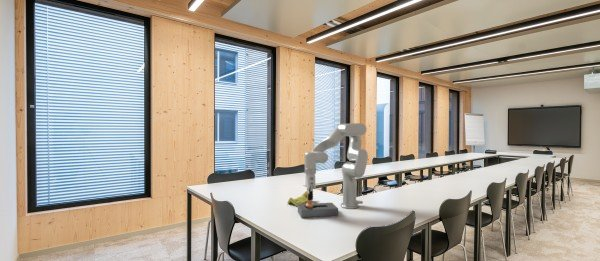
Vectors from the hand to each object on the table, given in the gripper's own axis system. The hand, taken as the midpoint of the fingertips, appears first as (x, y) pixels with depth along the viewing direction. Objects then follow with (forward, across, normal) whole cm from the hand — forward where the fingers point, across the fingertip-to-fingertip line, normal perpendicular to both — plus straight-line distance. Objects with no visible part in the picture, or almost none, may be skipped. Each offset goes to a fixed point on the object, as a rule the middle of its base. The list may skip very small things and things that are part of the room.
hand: (309, 198), depth 185 cm
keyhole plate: (+10, 0, -5) cm, 11 cm away
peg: (+5, 0, 0) cm, 5 cm away
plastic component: (+11, +27, 0) cm, 29 cm away
